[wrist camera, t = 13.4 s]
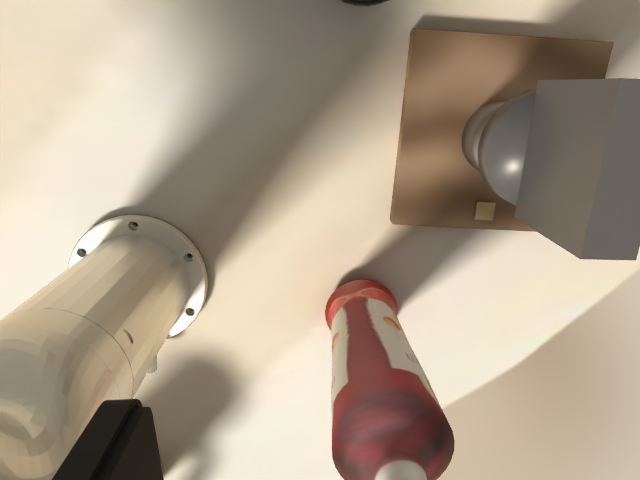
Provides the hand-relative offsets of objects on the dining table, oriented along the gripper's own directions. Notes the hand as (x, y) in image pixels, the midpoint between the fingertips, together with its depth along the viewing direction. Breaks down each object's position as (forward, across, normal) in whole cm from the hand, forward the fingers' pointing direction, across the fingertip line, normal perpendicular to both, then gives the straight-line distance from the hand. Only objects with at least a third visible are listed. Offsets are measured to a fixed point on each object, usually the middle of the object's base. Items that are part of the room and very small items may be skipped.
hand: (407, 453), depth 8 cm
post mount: (+34, -14, -2) cm, 37 cm away
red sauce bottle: (+34, -3, +14) cm, 37 cm away
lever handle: (+26, -14, -2) cm, 30 cm away
